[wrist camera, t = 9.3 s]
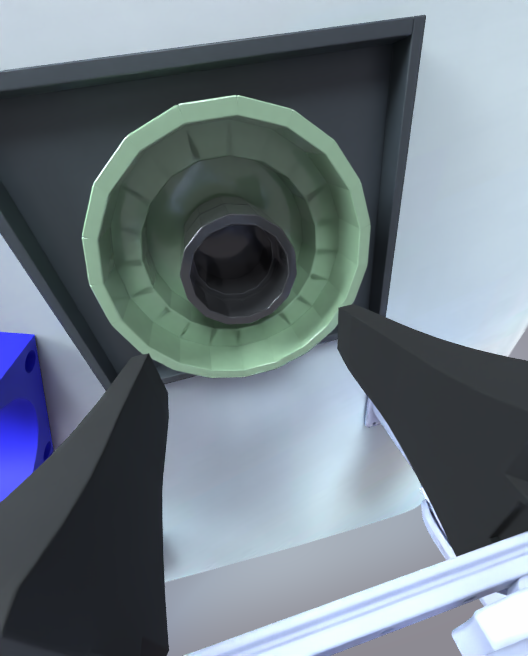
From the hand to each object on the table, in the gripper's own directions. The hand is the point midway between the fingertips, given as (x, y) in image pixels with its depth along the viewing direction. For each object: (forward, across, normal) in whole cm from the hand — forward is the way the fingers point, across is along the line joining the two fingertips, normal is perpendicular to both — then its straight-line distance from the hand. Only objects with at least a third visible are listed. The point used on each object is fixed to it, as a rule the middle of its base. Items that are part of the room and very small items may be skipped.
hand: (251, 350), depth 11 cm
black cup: (+9, 0, -1) cm, 9 cm away
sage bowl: (+10, 0, -1) cm, 10 cm away
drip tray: (+10, 0, -1) cm, 10 cm away
